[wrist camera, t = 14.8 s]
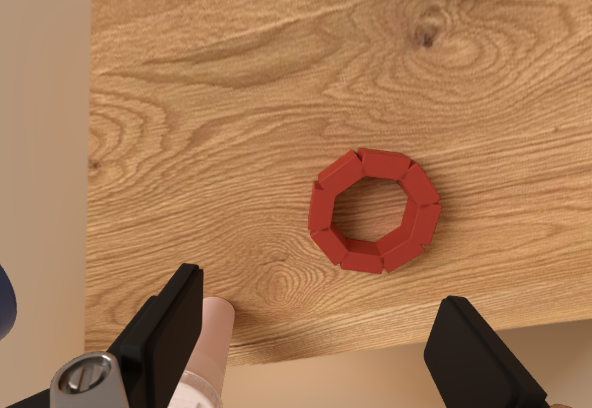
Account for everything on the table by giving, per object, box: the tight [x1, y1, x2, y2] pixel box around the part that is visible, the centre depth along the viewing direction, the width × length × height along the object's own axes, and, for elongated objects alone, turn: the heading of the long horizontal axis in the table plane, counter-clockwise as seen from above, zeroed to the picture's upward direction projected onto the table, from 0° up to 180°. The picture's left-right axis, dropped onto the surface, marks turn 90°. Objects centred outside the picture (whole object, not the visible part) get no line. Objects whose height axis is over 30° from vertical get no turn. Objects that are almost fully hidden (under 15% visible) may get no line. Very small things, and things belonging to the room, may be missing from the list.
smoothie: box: [168, 297, 235, 408], centre depth 21 cm, size 6×6×14 cm
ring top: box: [308, 148, 442, 274], centre depth 22 cm, size 9×9×2 cm
